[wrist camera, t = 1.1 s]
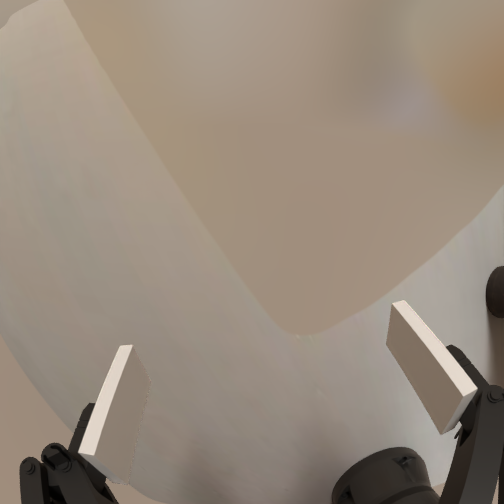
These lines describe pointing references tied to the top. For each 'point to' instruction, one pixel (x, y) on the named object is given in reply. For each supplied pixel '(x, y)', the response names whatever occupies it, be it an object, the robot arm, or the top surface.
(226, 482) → the top surface
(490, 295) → the container
